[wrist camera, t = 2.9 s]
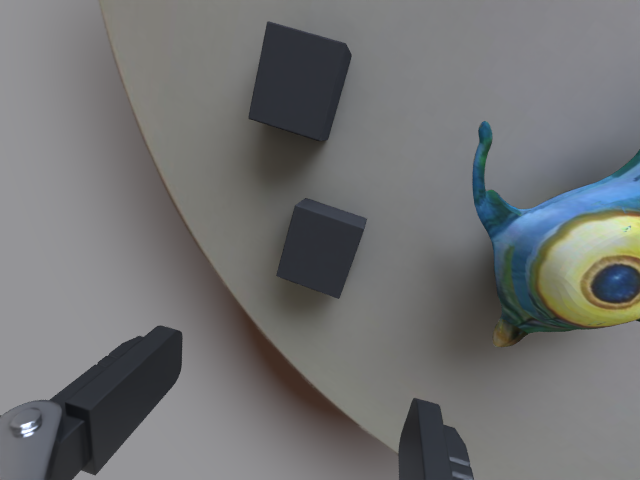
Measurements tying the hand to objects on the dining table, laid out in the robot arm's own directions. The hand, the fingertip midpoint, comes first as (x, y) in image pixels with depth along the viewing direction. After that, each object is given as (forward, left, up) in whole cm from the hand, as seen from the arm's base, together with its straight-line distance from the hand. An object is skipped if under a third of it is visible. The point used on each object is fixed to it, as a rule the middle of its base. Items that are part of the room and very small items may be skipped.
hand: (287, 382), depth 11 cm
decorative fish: (+12, +8, -13) cm, 19 cm away
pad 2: (-1, +1, -13) cm, 13 cm away
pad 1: (-5, +10, -13) cm, 17 cm away
